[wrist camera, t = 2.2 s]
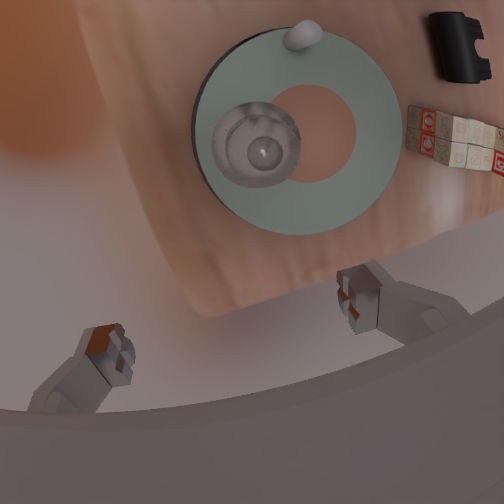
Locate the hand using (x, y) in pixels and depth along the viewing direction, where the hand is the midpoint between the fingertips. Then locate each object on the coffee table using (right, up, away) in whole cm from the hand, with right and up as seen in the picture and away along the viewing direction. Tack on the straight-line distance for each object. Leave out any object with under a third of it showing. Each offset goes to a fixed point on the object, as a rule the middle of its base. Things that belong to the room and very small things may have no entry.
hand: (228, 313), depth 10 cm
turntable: (+7, +15, +21) cm, 27 cm away
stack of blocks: (+32, +20, +24) cm, 45 cm away
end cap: (+28, +31, +18) cm, 45 cm away
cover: (+1, +13, +19) cm, 23 cm away
